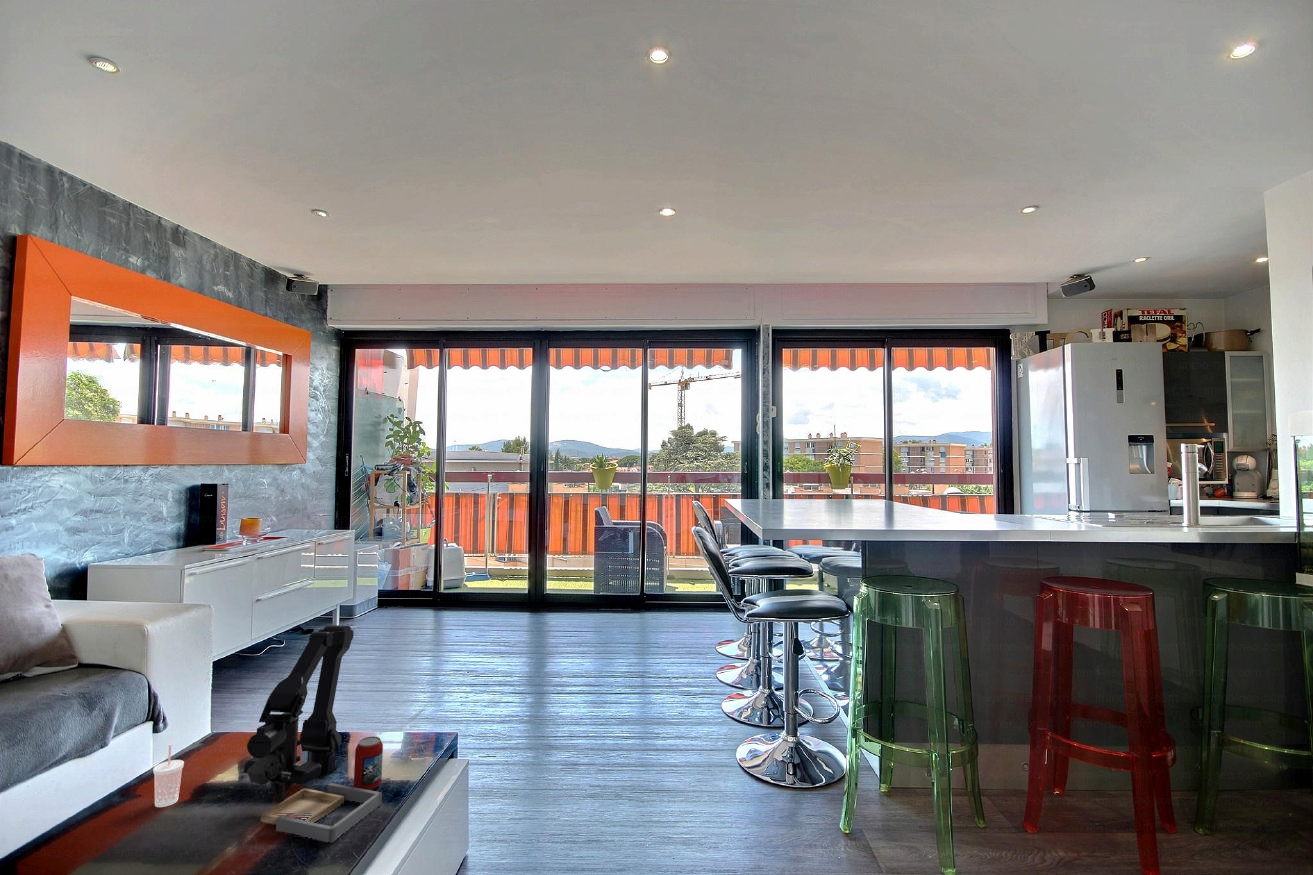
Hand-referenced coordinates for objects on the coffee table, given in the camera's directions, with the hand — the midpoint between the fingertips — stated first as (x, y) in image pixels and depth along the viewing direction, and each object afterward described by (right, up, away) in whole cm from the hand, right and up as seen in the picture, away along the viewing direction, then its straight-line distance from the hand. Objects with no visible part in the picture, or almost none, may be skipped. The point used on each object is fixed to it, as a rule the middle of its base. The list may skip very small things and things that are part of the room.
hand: (280, 802), depth 153 cm
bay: (+14, -1, -4) cm, 15 cm away
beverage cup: (-29, -1, +1) cm, 29 cm away
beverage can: (+17, -2, +11) cm, 20 cm away
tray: (+7, -2, -2) cm, 7 cm away
